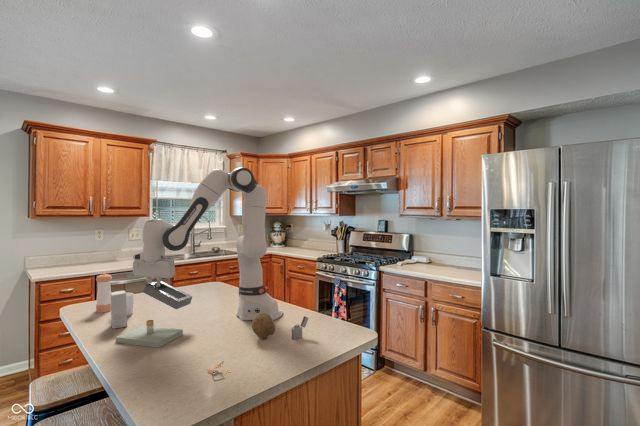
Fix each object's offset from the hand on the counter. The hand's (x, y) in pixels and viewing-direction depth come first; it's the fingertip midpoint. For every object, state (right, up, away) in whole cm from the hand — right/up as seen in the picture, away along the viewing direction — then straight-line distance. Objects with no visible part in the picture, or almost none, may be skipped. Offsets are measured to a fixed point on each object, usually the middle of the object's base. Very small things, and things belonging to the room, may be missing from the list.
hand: (154, 286), depth 153 cm
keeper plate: (+5, -18, -14) cm, 23 cm away
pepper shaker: (-37, -18, +24) cm, 48 cm away
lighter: (+66, -18, -13) cm, 69 cm away
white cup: (-23, -18, +17) cm, 33 cm away
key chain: (+41, -19, -42) cm, 61 cm away
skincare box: (-16, -18, +2) cm, 24 cm away
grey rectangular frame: (+7, -5, -2) cm, 8 cm away
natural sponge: (+51, -18, -14) cm, 56 cm away
